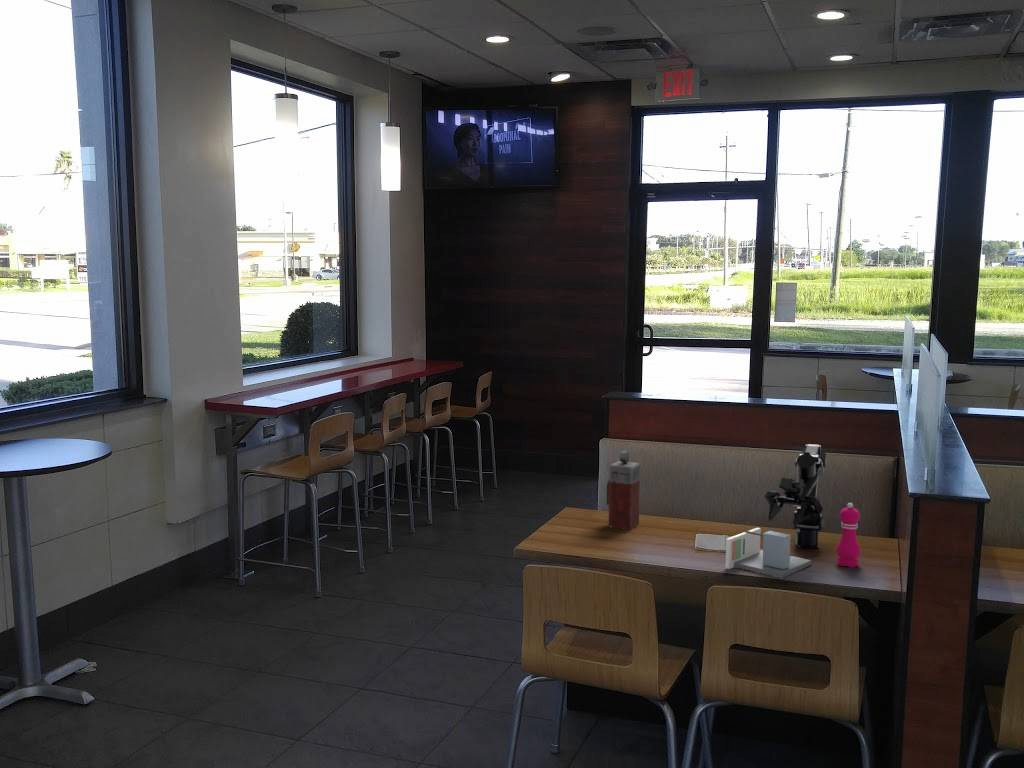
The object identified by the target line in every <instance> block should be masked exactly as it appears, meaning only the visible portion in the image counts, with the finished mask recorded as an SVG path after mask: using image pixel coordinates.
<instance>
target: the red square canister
mask: <svg viewBox="0 0 1024 768" xmlns="http://www.w3.org/2000/svg"><path fill="white" fill-rule="evenodd" d="M608 469H609V471H608V473H609V474H608V481H607V484H606V505H607V506H608V526H612V527H618V528H617V529H620V528H624V529H623V530H627V529H632V528H633V529H635V528H636V527H638V526H639V525H640V485H641V484H640V481H641V478H640V477H641V465H640V463H639V462H632V461H630V453H629V451H626V450H622V451H620V455H619V460H618V461H616V462H614V463H612V464H610V465H609V466H608ZM638 524H639V525H638ZM637 525H638V526H637ZM635 526H636V527H635ZM612 527H611V528H612ZM634 527H635V528H634ZM633 529H632V530H633Z"/></svg>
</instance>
